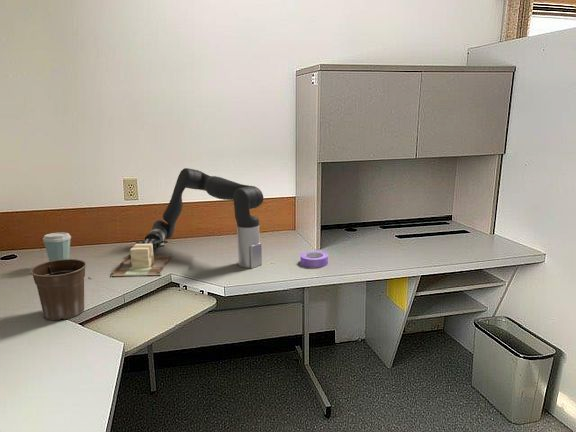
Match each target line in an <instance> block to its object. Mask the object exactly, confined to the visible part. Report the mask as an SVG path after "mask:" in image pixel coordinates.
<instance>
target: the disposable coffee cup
mask: <svg viewBox="0 0 576 432" xmlns="http://www.w3.org/2000/svg"><path fill="white" fill-rule="evenodd" d="M71 239H72V235H70V233H68V232H52V233H47V234H45V235H44V236H43V238H42V241H43V244H44V247H45V251H46V254H47V257H48V260H49V261H54V260H62V259H70V254H71V250H70V249H71ZM49 261H48V262H49Z"/></svg>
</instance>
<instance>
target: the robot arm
mask: <svg viewBox="0 0 576 432" xmlns="http://www.w3.org/2000/svg"><path fill="white" fill-rule="evenodd" d="M185 189H190V190H191V189H192V190H199V191H204V192H206V193H207V194H208V195H209V196H211V197H213V198H216V199H219V200H225V201H233V208H234V209H233V210H234V217H235V221H236V233H237V234H236V235H237V257H238V266H239V267H241V268H249V269H253V268H256V267H259V266H262V265H263V256H262V254H263V252H262V243H261V242H260V241H261V240H260V219H259V217H257V216H253V215H251V213H250V210H252V209H256V208H258V207H260V206H261V205H262V204H263V202H264V194H263V192H262V190H261V189H260V188H259V187H258V186H255V185H248V184H247V185H246V184H241V183H238V182H236V181H233V180H231V179H230V180H229V179H226V178H223V177H220V176H217V175H212V176H211V175H209V174H207V173H205V172H202V171H200V170H198V169H193V168H188V167H184V168H183V169H182V170H181V171H180V173H179V175H178V176H177V179H176V182H175V186H174V188H173V191H172V194H171V197H170V200H169V203H168V205H167V207H166V209H165V210H164V212H163V214H162V219H163V220H161V219H158V220H156V221H154V223H153V225H152V229H151V231H150V232H148V233H147V234H146V235H145V237H144V239H143V240H141V241H140V240H139V241H138V240H136V241H135V244H153V250H156V249H160V248H163V247H165V239H166V240H169V239H171V238H172V237H173V236H174V232H175V227H176V223H177V221H178V218H179V216H180V215H181V213H182V210H183V193H184V191H185Z"/></svg>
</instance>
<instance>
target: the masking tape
mask: <svg viewBox="0 0 576 432" xmlns="http://www.w3.org/2000/svg"><path fill="white" fill-rule="evenodd" d="M300 265H301V266H303V267H306V268H315V269H317V268H323V267H326V266H328V265H329V255H328V253H327V252H324V251H320V250H310V251H305V252H302V253H301V254H300Z"/></svg>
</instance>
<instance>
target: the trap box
mask: <svg viewBox="0 0 576 432" xmlns="http://www.w3.org/2000/svg"><path fill="white" fill-rule="evenodd" d="M172 256H173V253H169V255H165V254H164V255H154V262H153V263H152V265H151V266H150V267H149V268H132V265H131V266H130V267H122V266H124V264H125V263H132V262H131V254H128V255H127V256H126V257H124V259H123V260H122V261H121V262H120V263H119V264H118V265H117V266H116V267H115V269H113V270H112V272H111V278H142V277H143V278H145V277H161V276H162V274H161V273H162V271H163V270H164V268H165V267H166V265H167V263H168V262H169V261H170V259H171V258H172ZM156 262H163V263H162V265H161V266H154V265H155V264H156Z"/></svg>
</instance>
